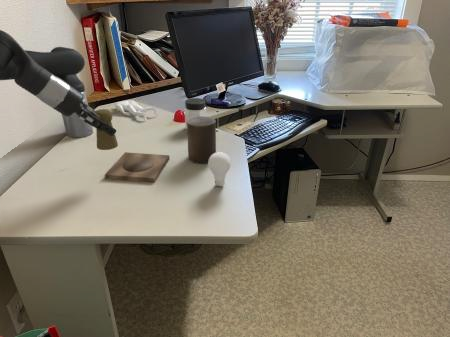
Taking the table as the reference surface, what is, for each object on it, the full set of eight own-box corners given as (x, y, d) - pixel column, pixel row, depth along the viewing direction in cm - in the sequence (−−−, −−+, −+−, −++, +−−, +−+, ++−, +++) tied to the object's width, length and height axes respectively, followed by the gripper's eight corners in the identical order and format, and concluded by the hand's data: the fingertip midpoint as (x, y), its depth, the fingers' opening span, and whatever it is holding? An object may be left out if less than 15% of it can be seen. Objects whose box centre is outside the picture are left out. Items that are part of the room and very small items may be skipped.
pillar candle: (210, 165, 115) (210, 123, 108) (183, 161, 117) (181, 120, 110) (219, 154, 123) (219, 114, 116) (194, 150, 125) (193, 111, 118)
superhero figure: (160, 118, 158) (125, 108, 172) (160, 105, 156) (125, 97, 169) (141, 122, 150) (105, 112, 163) (140, 109, 147) (104, 100, 160)
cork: (111, 150, 99) (106, 114, 94) (92, 148, 100) (86, 112, 95) (121, 143, 104) (116, 107, 99) (103, 141, 105) (97, 106, 100)
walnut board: (105, 178, 107) (104, 173, 106) (125, 156, 121) (125, 151, 120) (154, 182, 105) (154, 177, 104) (169, 159, 119) (169, 154, 118)
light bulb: (208, 180, 106) (207, 148, 101) (229, 179, 106) (229, 147, 101) (209, 192, 100) (208, 158, 95) (231, 191, 101) (232, 157, 95)
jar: (209, 130, 142) (208, 102, 136) (190, 134, 139) (189, 105, 133) (201, 123, 149) (200, 96, 143) (183, 126, 146) (181, 99, 140)
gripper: (47, 99, 95) (98, 132, 106) (54, 114, 84) (110, 149, 96) (63, 78, 95) (113, 113, 106) (72, 90, 84) (127, 128, 96)
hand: (111, 130), depth 101 cm, fingers closed on cork, 4 cm apart
